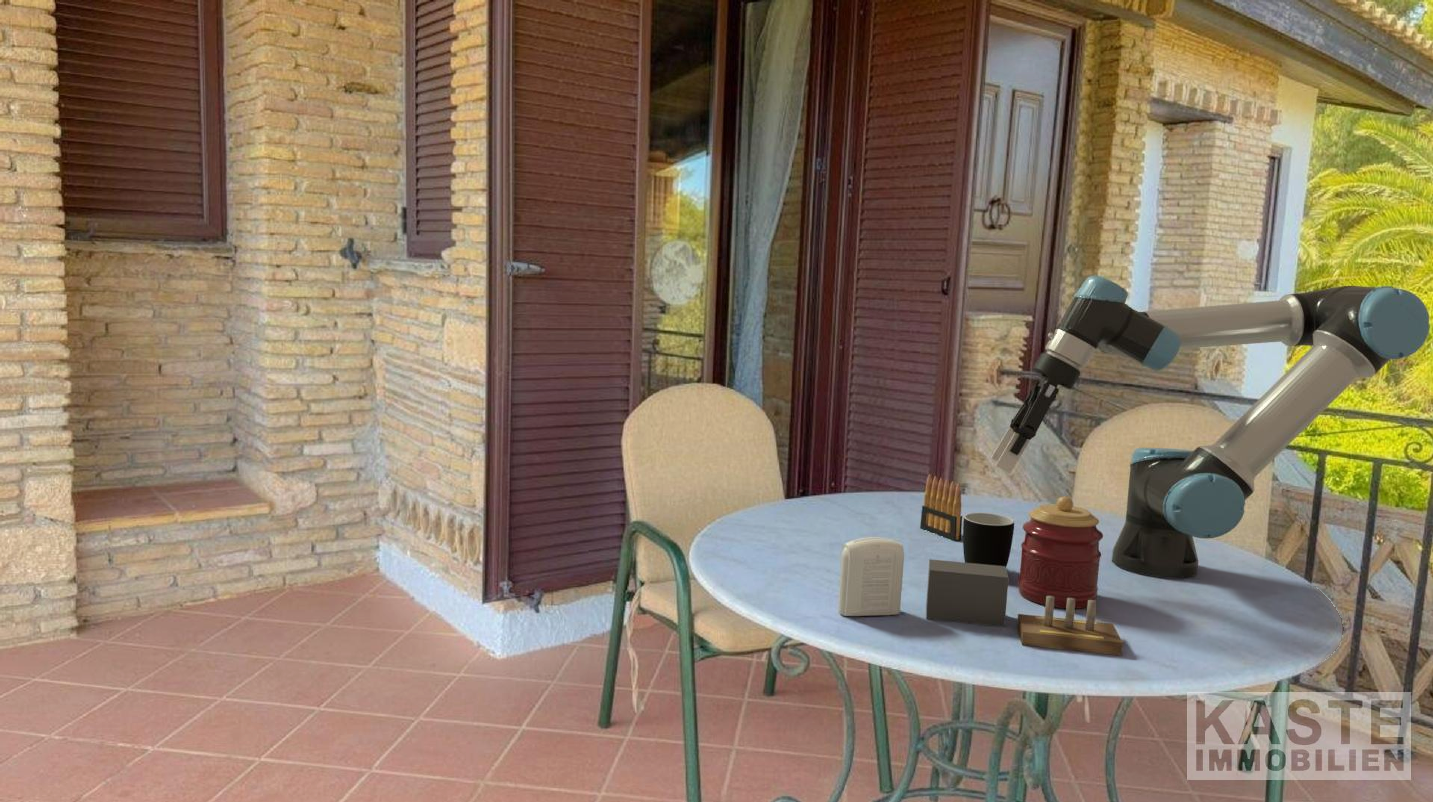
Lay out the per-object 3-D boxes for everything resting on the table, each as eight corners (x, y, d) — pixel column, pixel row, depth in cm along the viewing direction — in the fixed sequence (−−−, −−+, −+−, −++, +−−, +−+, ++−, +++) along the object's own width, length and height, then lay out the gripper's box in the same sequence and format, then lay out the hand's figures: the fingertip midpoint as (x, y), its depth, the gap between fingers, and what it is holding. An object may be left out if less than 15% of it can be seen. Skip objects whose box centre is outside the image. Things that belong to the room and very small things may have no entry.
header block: (1111, 636, 154) (1115, 595, 153) (1121, 655, 146) (1125, 613, 145) (1017, 626, 156) (1020, 586, 156) (1022, 644, 149) (1025, 602, 148)
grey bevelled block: (1001, 614, 162) (1005, 566, 161) (1004, 627, 156) (1008, 577, 155) (926, 606, 164) (929, 559, 163) (926, 618, 158) (929, 570, 157)
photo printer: (893, 607, 163) (898, 533, 162) (904, 616, 159) (909, 541, 157) (834, 609, 161) (838, 535, 159) (843, 619, 157) (847, 542, 155)
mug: (1019, 578, 181) (1024, 524, 179) (975, 581, 179) (979, 525, 177) (985, 559, 192) (989, 507, 191) (943, 561, 190) (947, 509, 189)
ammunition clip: (961, 540, 205) (965, 483, 203) (954, 541, 204) (958, 484, 202) (926, 527, 214) (930, 472, 213) (919, 528, 213) (923, 473, 212)
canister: (1008, 583, 178) (1016, 486, 176) (1082, 586, 178) (1090, 489, 175) (1029, 608, 165) (1037, 504, 163) (1108, 612, 165) (1118, 507, 162)
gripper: (1035, 350, 186) (977, 448, 189) (1051, 349, 162) (984, 462, 165) (1072, 370, 185) (1013, 468, 188) (1093, 372, 161) (1025, 484, 164)
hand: (999, 465), depth 177 cm, fingers open, 13 cm apart
